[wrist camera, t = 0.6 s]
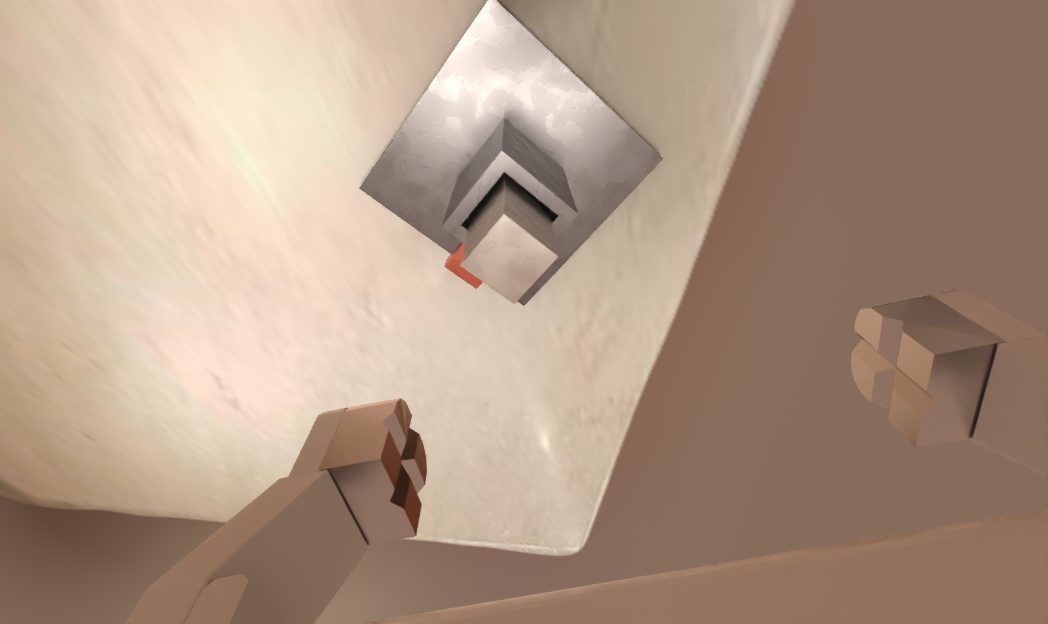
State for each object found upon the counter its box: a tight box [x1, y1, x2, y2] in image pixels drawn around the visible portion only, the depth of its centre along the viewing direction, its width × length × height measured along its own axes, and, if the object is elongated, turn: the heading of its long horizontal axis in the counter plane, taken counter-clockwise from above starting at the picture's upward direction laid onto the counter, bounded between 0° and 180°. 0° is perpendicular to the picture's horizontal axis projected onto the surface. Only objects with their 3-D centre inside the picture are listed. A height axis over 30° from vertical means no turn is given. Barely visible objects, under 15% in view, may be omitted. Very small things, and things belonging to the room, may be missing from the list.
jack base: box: [359, 0, 663, 306], centre depth 43 cm, size 20×20×14 cm
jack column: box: [460, 172, 559, 304], centre depth 39 cm, size 4×4×18 cm
